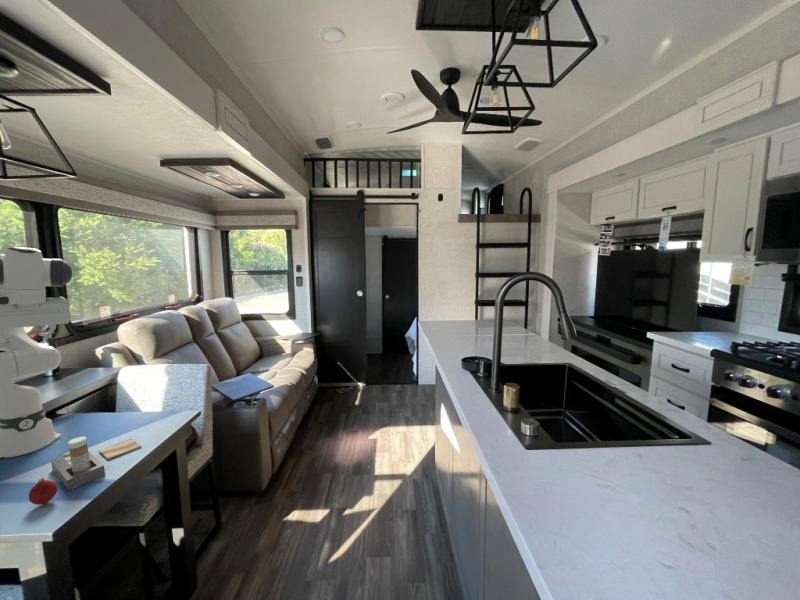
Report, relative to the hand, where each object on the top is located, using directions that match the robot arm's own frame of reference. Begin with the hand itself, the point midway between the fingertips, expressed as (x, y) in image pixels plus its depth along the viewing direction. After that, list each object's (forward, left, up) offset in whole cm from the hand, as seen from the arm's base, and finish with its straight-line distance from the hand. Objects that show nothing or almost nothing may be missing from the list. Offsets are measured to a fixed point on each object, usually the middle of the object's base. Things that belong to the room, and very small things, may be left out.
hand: (27, 340), depth 108 cm
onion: (+20, -4, -47) cm, 51 cm away
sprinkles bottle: (+13, +6, -47) cm, 49 cm away
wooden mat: (+3, +19, -47) cm, 50 cm away
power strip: (+5, +6, -47) cm, 47 cm away
